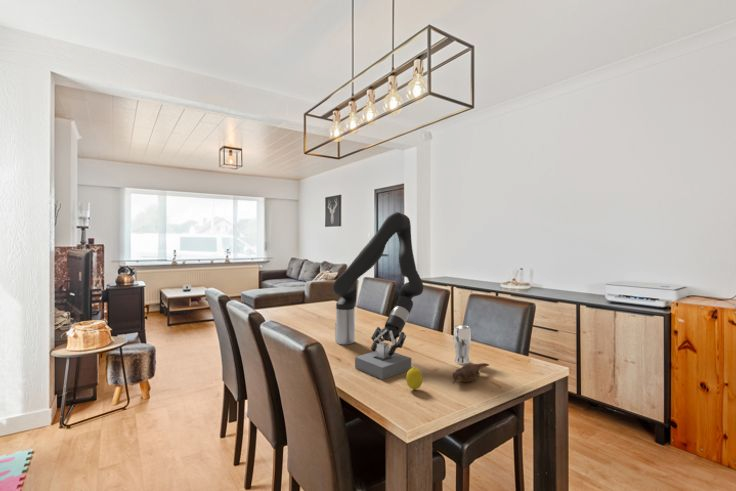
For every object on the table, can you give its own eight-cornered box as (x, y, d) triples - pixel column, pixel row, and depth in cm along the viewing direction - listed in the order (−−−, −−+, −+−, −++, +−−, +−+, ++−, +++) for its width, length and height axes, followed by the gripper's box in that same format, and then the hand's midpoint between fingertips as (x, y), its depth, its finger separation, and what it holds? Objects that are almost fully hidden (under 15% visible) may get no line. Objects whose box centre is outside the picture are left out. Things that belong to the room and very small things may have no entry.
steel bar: (377, 368, 144) (377, 344, 144) (382, 366, 147) (382, 342, 147) (383, 370, 142) (383, 345, 142) (389, 368, 144) (389, 343, 144)
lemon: (404, 387, 126) (404, 364, 126) (420, 386, 127) (420, 364, 127) (407, 393, 121) (407, 370, 121) (424, 393, 121) (424, 369, 121)
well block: (355, 367, 145) (355, 356, 145) (383, 359, 156) (383, 348, 156) (382, 379, 133) (382, 367, 133) (411, 369, 144) (411, 358, 144)
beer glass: (471, 360, 153) (472, 326, 153) (469, 366, 147) (469, 329, 146) (455, 358, 156) (455, 324, 156) (452, 363, 150) (452, 328, 149)
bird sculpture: (494, 372, 140) (494, 360, 140) (460, 392, 122) (460, 377, 122) (479, 368, 144) (479, 356, 144) (443, 386, 127) (443, 372, 127)
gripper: (380, 311, 154) (363, 344, 146) (408, 316, 145) (391, 351, 137) (387, 322, 158) (371, 354, 150) (415, 327, 149) (399, 361, 141)
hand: (380, 352), depth 143 cm, fingers open, 8 cm apart
